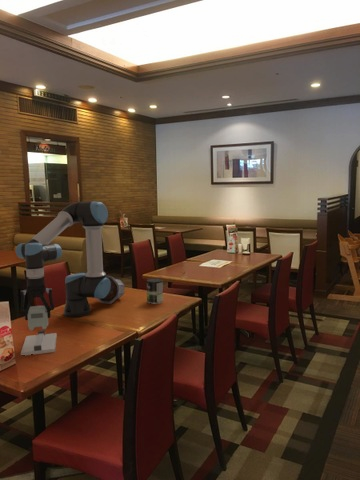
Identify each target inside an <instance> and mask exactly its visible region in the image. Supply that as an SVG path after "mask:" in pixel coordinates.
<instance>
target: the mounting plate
mask: <svg viewBox="0 0 360 480" xmlns="http://www.w3.org/2000/svg"><path fill="white" fill-rule="evenodd" d="M45 330H46V329H41V330H38V331H37V334H34V335H26V337H25V339H24V343H23V345H22V347H21V351H20V356H21V355H25V356H31V354H33V355H41V354H47V353H56V345H57V338H58V337H57V336H58V335H57V334H58V333H57V332H54V333H52V332H51V333H46V332H45Z"/></svg>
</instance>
